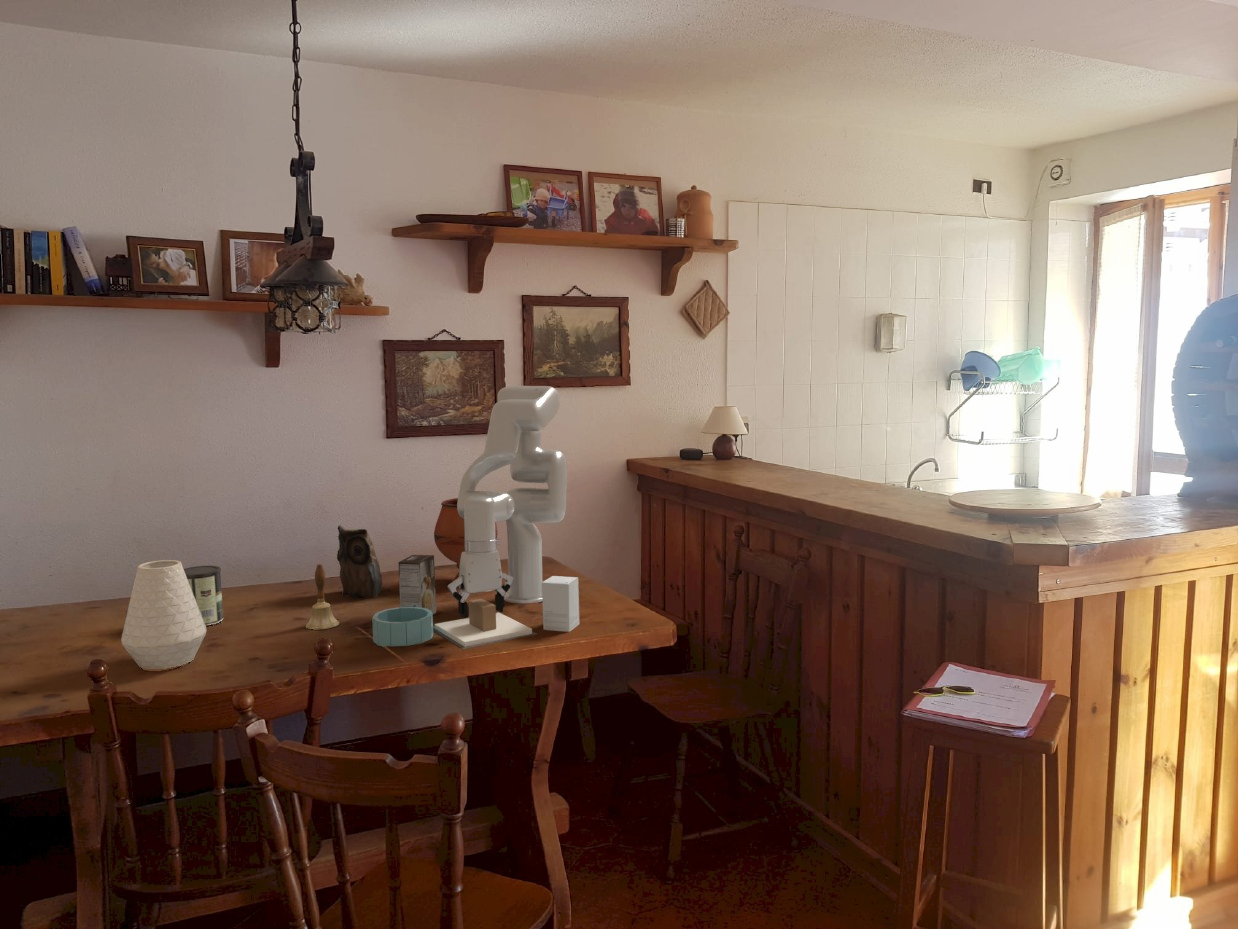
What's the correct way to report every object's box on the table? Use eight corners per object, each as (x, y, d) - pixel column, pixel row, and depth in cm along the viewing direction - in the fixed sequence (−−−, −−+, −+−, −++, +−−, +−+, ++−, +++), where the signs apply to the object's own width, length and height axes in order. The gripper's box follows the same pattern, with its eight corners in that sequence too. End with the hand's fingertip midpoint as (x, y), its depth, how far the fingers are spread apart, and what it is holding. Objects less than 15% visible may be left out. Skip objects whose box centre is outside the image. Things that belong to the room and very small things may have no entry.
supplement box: (580, 625, 241) (579, 577, 239) (569, 633, 234) (568, 584, 232) (553, 622, 243) (552, 574, 242) (542, 631, 236) (541, 581, 235)
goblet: (442, 592, 275) (439, 507, 271) (430, 577, 292) (427, 498, 289) (506, 585, 281) (504, 503, 278) (490, 571, 299) (488, 494, 296)
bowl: (419, 626, 241) (418, 604, 240) (441, 640, 229) (440, 616, 228) (366, 636, 233) (365, 612, 232) (386, 651, 221) (385, 626, 221)
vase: (216, 666, 212) (209, 565, 209) (130, 682, 202) (122, 577, 199) (199, 646, 226) (193, 552, 224) (118, 660, 216) (110, 562, 214)
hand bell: (301, 624, 244) (297, 564, 242) (332, 619, 249) (329, 559, 247) (311, 632, 237) (308, 570, 235) (343, 626, 242) (341, 565, 240)
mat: (500, 616, 249) (500, 615, 249) (537, 635, 232) (537, 633, 232) (429, 629, 238) (429, 628, 238) (462, 650, 221) (462, 649, 221)
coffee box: (414, 612, 254) (412, 554, 252) (436, 613, 253) (435, 554, 251) (400, 622, 245) (397, 561, 243) (423, 623, 244) (421, 562, 242)
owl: (376, 599, 268) (373, 530, 265) (331, 600, 267) (328, 531, 264) (384, 587, 280) (381, 521, 278) (341, 589, 279) (338, 522, 277)
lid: (498, 616, 248) (498, 590, 247) (531, 633, 233) (531, 605, 232) (434, 628, 238) (433, 600, 237) (464, 647, 223) (464, 617, 222)
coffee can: (204, 615, 253) (201, 563, 251) (232, 619, 249) (229, 567, 247) (171, 625, 244) (168, 572, 242) (200, 630, 239) (197, 576, 238)
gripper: (504, 540, 240) (505, 605, 242) (441, 547, 231) (443, 616, 232) (518, 544, 234) (519, 612, 236) (454, 552, 224) (455, 622, 226)
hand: (481, 614), depth 234 cm, fingers open, 9 cm apart
